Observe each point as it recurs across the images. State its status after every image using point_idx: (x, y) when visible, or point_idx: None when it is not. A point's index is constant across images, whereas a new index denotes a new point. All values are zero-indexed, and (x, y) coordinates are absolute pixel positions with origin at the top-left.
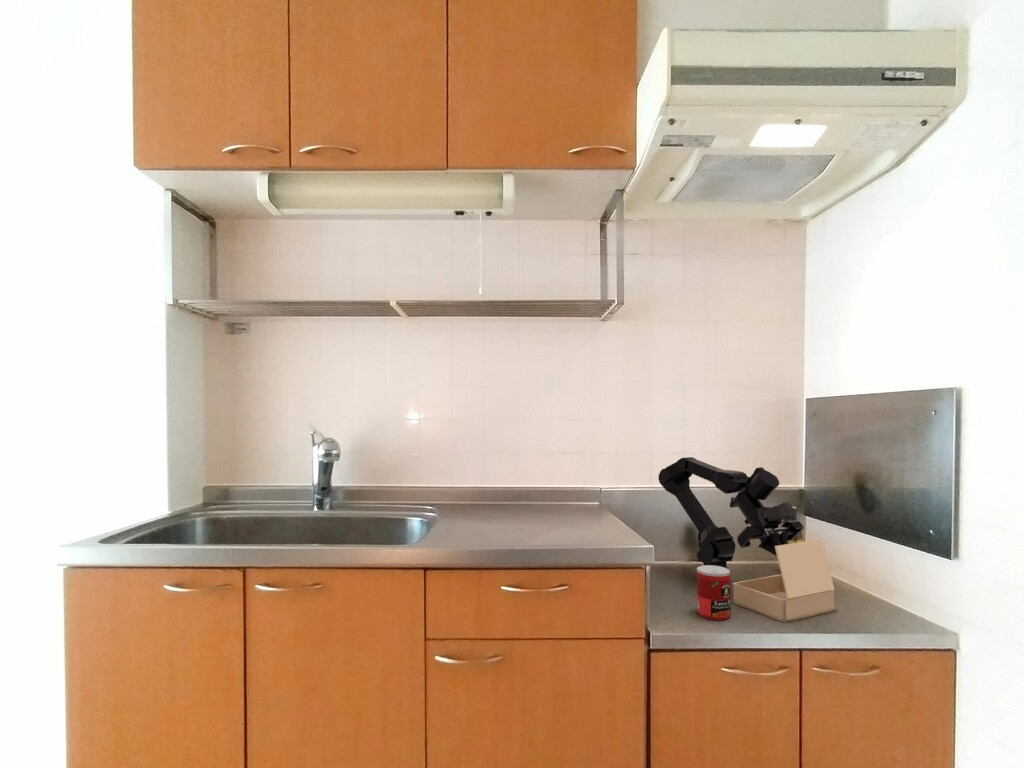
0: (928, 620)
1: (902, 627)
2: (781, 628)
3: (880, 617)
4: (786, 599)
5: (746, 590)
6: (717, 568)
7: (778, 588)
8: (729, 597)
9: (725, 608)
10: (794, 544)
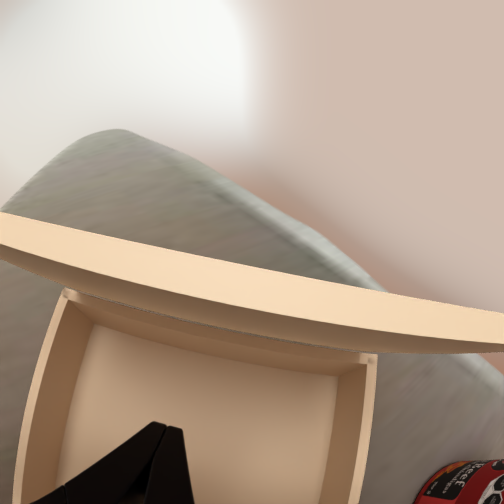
0: (53, 159)
1: (128, 167)
2: None
3: (81, 216)
4: (356, 358)
5: None
6: None
7: None
8: (484, 467)
9: (477, 461)
10: (294, 278)
